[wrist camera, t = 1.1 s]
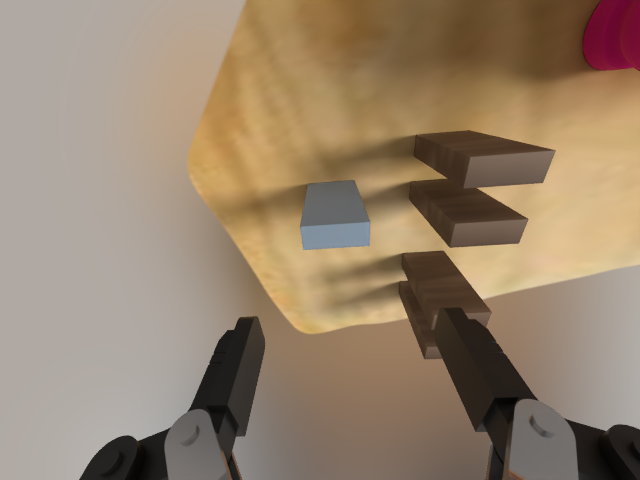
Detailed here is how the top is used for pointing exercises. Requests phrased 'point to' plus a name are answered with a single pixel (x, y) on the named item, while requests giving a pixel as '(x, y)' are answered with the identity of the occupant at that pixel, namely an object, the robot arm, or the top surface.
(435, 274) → the domino
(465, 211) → the domino
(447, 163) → the domino
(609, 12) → the pepper mill
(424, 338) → the domino
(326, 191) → the domino
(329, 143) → the top surface
